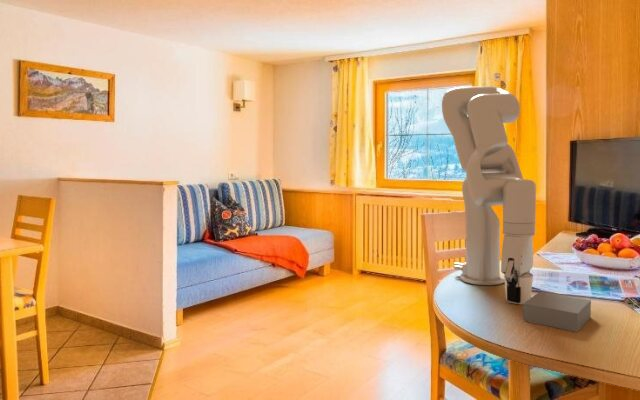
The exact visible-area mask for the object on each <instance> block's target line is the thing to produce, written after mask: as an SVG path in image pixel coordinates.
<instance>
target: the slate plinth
mask: <svg viewBox="0 0 640 400" xmlns="http://www.w3.org/2000/svg"><path fill="white" fill-rule="evenodd" d="M591 307H592V300H591V299H586V298H579V297H573V296H568V295H563V294H556V293H549V292H543V291H539V292H538V293H536V294H534V295H533V296H531V298H530V299H529V300H528V301H526V302H525V303H524V304H523V317H522V318H523V322H527V323H528V322H529V323H532V324H533V323H534V324H537V325H543V326H547V327H551V328H557V329H561V330H567V331H571V332H576V333H578V332H579V331H580V330H581V329H582V327H583V326H584V325H585V324H586V323H587V322H588V321H589V320H590V319H591V314H592V312H591V311H592V310H591V309H592V308H591Z"/></svg>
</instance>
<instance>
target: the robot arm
mask: <svg viewBox="0 0 640 400" xmlns="http://www.w3.org/2000/svg"><path fill="white" fill-rule="evenodd" d="M519 102H520V101H519V100H518V98H517V96H515V94H513V93H512V92H510V91H507V90H505V89H503V88H501V87H498V86H493V85H491V86H488V85H487V86H485V85H483V86H458V87H457V86H456V87H453V88H450V89H449V90H447V91H446V92H444V94H443V97H442V100H441V112H442V117H443V121H444V123H445V125H446V127H447V128H448V130H449V132H450V133H451V136H452V139H453V141H454V142H453V143H454V146H455V150H456V152H457V153H456V154H457V157H458V161H459V163H460V166H461V169H462V170H463V171H464V172H465V174H466V177H465V178H464V180H463V181H462V185H461V186H462V187H461V191H462V193H461V194H462V198H463V204H464V209H465V211H464V212H465V262H464V263H462V262H456V261H455V262H454V265H453V270H454V271H455V270H456V271H461V272H462V273H461V274H460V280H461V281H463V282H465V283H468V284H472V285H478V286H497V285H501V284H505V280H504V274H505V278H506V281H507V300H506V301H507V302H508V301H510V302H516V303H520V302H521V287H519V278H520V276H521V275H522V274H524V273H531V270H532V269H533V265H534V243H533V241H534V240H533V237H534V236H536V204H537V203H536V200H537V199H536V198H537V196H536V195H537V194H536V193H537V187H536V182H535V181H533V180H532V179H526V178H524V177H523V174H522V171H521V168H520V165H519V161H518V158H517V155H516V153H515V150H514V149H513V147H512V146H511V145H510V144H509V143H508V136H507V132H506V129H505V128H506V127H505V126H504V124H511V123H515V122H516V121H517V120H518V118H519V116H520V113H521V105H520V103H519ZM494 206H495V207H496V206H502V234H503V240H502V246H501V222H500V219H499V215H497V213H496V212H495V211H494V209H493V207H494ZM500 246H501V247H502V248H501V247H500ZM500 248H501V249H500ZM500 250H501V251H500ZM500 252H501V253H500ZM500 258H501V259H500ZM500 263H501V264H500ZM500 272H501V273H500ZM513 272H517V273H516V274H513ZM513 276H514V277H516V280H515V278H513ZM510 302H509V303H510Z"/></svg>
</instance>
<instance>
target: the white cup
mask: <svg viewBox="0 0 640 400" xmlns="http://www.w3.org/2000/svg"><path fill="white" fill-rule="evenodd" d="M516 273H517V272H513V274H516ZM503 275H504V280H505V282H504V289H505V291H504V292H505V300H506V301H507V281H506V278H505V274H503ZM513 278H515V280H516V277H514V276H513ZM533 278H534V274H532V273H531V272H530V273H524V274H522V275H521V276H520V278H519V287H521V302H520V303H516V302H510V301H507V303H511V304H517V305H524V303H525V302H526V301H528V300H529V299H530V298H532V290H533V289H532V287H533Z"/></svg>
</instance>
